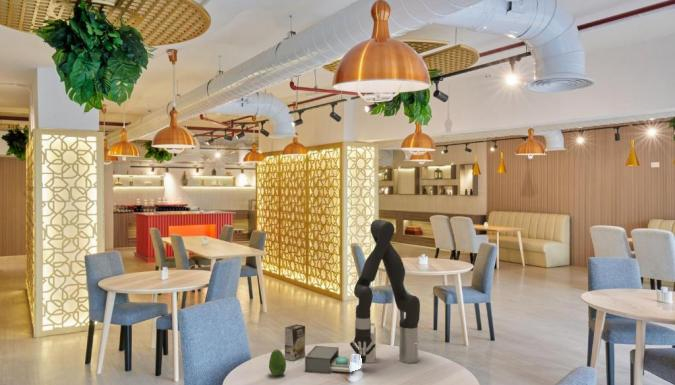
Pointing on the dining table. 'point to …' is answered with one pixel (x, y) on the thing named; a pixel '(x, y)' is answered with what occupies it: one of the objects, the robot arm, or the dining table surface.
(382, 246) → the robot arm
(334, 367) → the tray
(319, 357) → the player housing
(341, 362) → the disc
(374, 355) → the milk carton
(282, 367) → the avocado
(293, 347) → the coffee box
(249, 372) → the dining table surface
